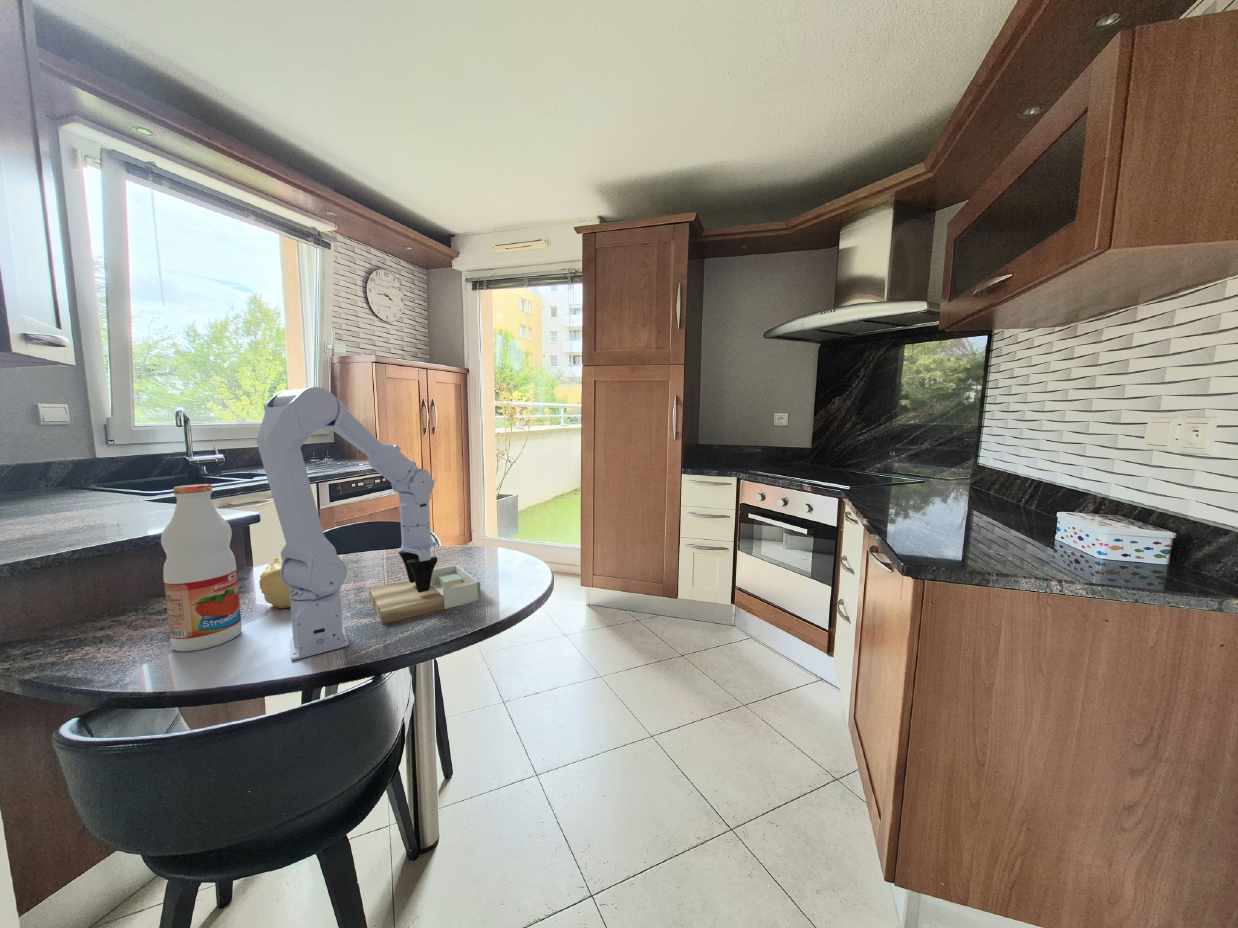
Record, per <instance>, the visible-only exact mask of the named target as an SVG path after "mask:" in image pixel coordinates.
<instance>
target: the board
mask: <svg viewBox="0 0 1238 928" xmlns="http://www.w3.org/2000/svg"><path fill="white" fill-rule="evenodd" d="M368 592H369V601H370V603H371V605H372V608H373V609H374V611H375V613H376V615H377V617H378V620H379V621H380V624H381V625H385V624H388V623H392V622H396V621H400V620H405V619H408V618H409V619H410V618H413V617H418V616H421V615H424V614H430V613H432V612H437V611H440V610H445V609H444V597H443V596H442V595H441V594H440V592H439V591H438V590H437V589H436V588H435V587H434V586H433V585H432V584H431V583H430V588H429V591H425V592H420V593H418V591H417V588H416V584H415V582H413V583H410V581H409V579H408V580H404V581H399V582H394V583H390V584H385V585H380V586H374V587H371V588H368Z"/></svg>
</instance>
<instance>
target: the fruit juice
mask: <svg viewBox="0 0 1238 928" xmlns="http://www.w3.org/2000/svg"><path fill="white" fill-rule="evenodd" d="M172 493H173V496H174V497H175V498H176V505H175V509H174V513H173V515H172V518H171V519H170V522H169V523H168V524H167V525H166V526H165V528H164V529H163V531H162V532H161V536H160V544H161V547H162V549H163V551H164V552H165V554H166V560H165V562H164V564H163V571H162V572H163V573H162V574H163V584H164V590H165V591H164V592H165V594H164V595H165V599H166V600H165V602H166V603H165V604H166V612H167V621H168V629H169V639H170V645H171V648H172V649H173V650H174V651H176V652H180V653H181V652H182V653H183V652H193V651H194V652H195V651H201V650H205V649H209V648H212V647H215V646H219V645H222V644H224V643H227V642H229V641H231V640H233V639H234V638H236V637H238V636H239V635H240V634H241V632H242V627H243V626H242V625H243V624H242V614H241V613H242V612H241V604H240V596H239V595H240V594H239V593H240V592H239V584H238V583H239V582H238V573H237V570H238V569H237V563H236V557H235V554H234V552H233V551H232V548H231V546H230V544H231V540H232V537H233V533H232V532H233V531H232V527H231V525H230V524H229V522H228V521H227V520H226V519H225V518H223V516H221V515H220V513H219V512H218V511H217V509H216V507H215V505H214V503H213V501H212V498H211V495H212V493H213V486H212V484H210V483H200V484H198V483H197V484H186V485H178V486H174V487H173V492H172Z"/></svg>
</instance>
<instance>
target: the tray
mask: <svg viewBox="0 0 1238 928" xmlns="http://www.w3.org/2000/svg"><path fill="white" fill-rule="evenodd" d="M454 573H456V574H457V575H459V576H460V577H461V578H462V583H464V582H467V583H468V584H465V585H460V586H456V587H451V588H447V589H442V588H441V587H440V586H439V578H438V577H439V576H444V575H449V574H454ZM431 584H432V585H433V586H434V587H435V588H436V589H437V590H438V591H439V592H440V594H441V595H442V596H443V597H444V609H443V610H447V609H451V608H455V607H459V606H463V605H466V604H471V603H475V602H479V601H481V600H482V599H481V598H482V597H481V596H482V595H481V582H480V581H479V580H478V579H477V578H475V577H474V576H473V575H471V574H470V573H469V572H467V571H466V570H465V569H464V568H462V567H461V566H460V565H458V564H452V565H446V566H441V567H437V568H434V569H433V572H432V577H431Z"/></svg>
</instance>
